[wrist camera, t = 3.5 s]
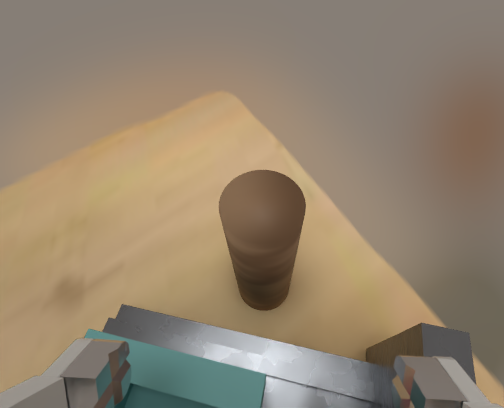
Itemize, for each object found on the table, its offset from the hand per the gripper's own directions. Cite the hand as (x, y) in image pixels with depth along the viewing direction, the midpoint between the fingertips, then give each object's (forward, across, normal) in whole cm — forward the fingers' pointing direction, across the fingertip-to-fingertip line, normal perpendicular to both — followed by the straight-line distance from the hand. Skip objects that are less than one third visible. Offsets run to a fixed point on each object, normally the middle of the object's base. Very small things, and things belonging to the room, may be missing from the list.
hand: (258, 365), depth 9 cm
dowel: (+14, 0, +5) cm, 15 cm away
